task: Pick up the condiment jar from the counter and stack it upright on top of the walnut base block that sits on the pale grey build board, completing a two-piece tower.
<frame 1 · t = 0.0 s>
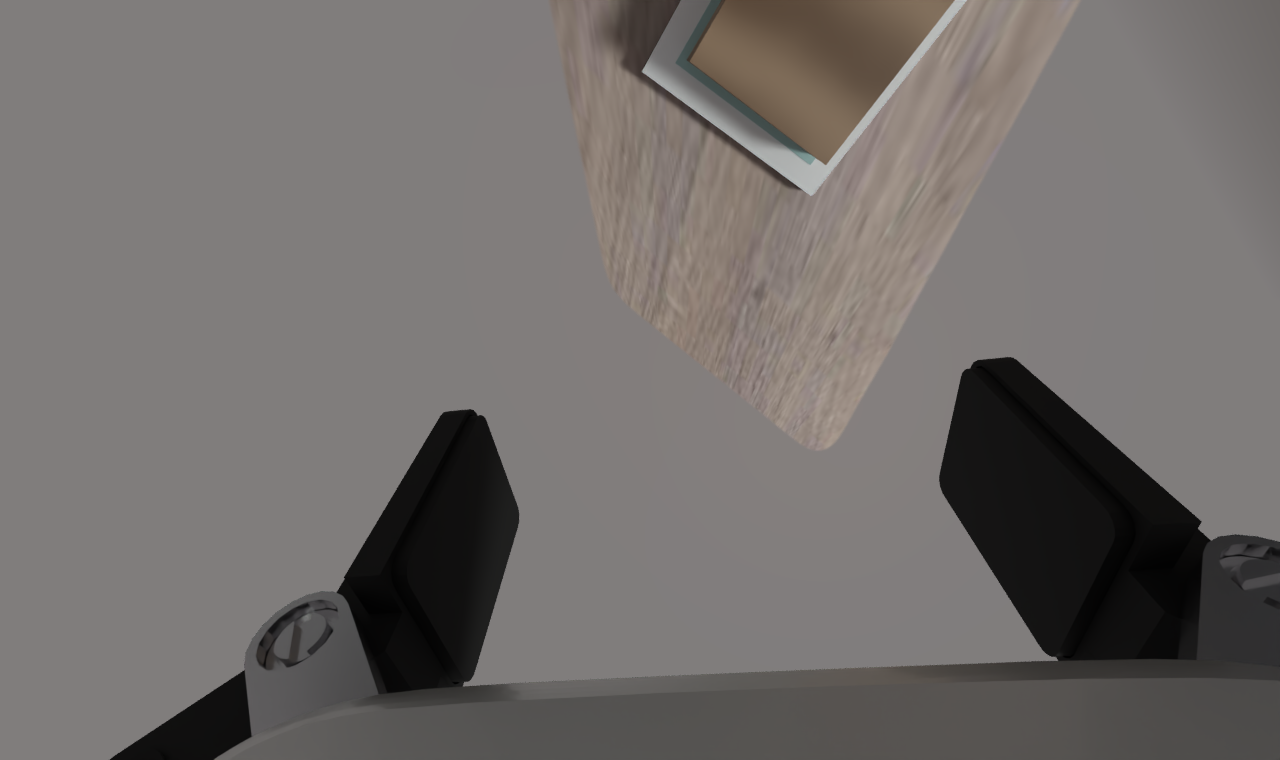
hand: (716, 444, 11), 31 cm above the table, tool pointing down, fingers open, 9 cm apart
build board: (797, 30, 33), on the table
base block: (803, 29, 31), point 2 cm above the table, touching build board
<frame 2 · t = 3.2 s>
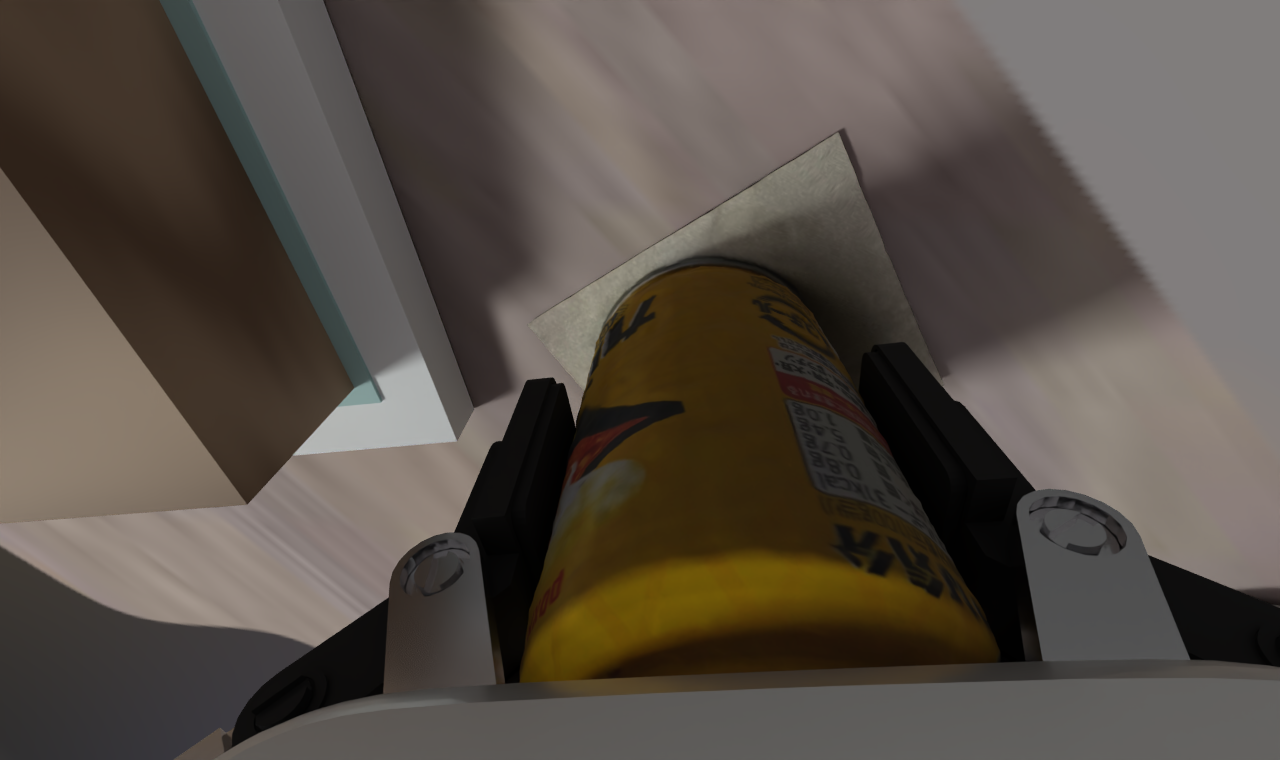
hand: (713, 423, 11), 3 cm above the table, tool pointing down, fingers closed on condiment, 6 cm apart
condiment: (735, 346, 14), on the table, touching gripper
build board: (102, 195, 12), on the table
base block: (34, 212, 11), point 2 cm above the table, touching build board
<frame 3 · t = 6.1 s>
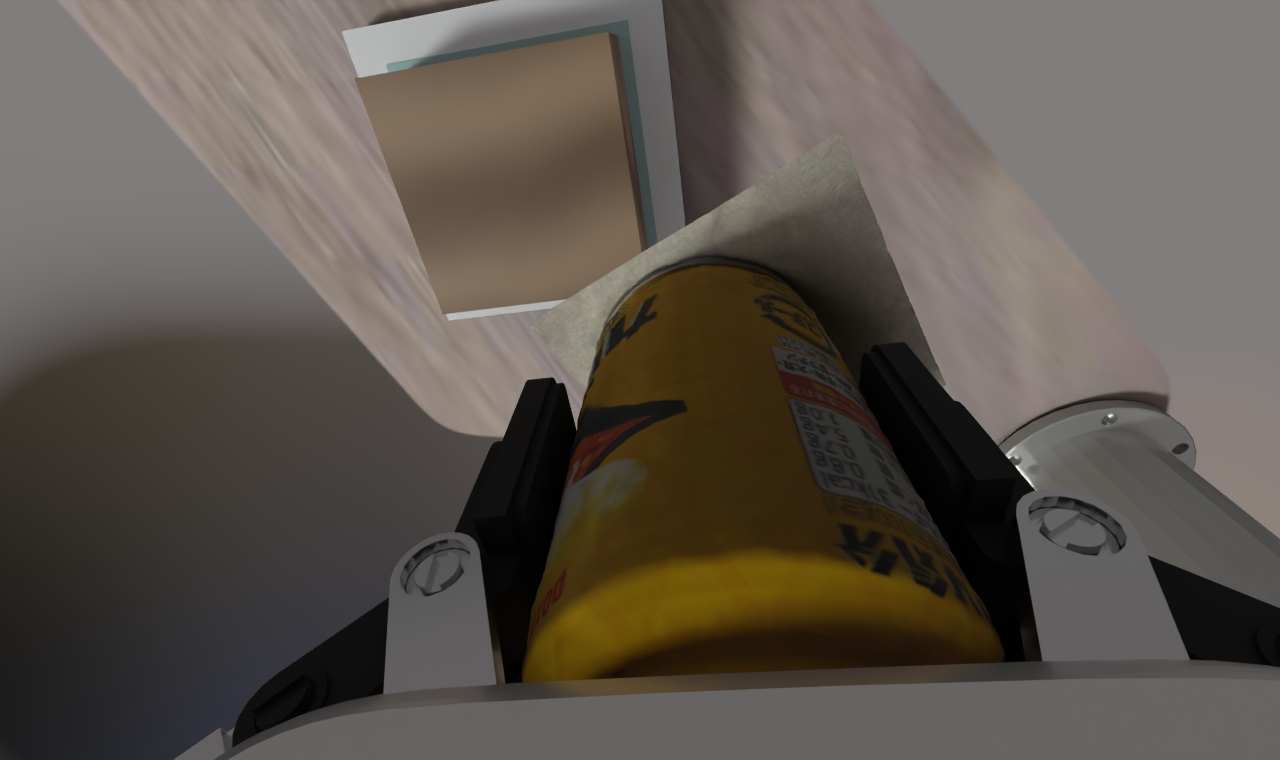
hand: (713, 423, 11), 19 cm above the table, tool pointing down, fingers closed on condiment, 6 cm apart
condiment: (737, 346, 14), point 16 cm above the table, touching gripper
build board: (541, 169, 27), on the table
base block: (534, 175, 26), point 2 cm above the table, touching build board
when the fingers open (10 cm above the table, at t = 8.7 s): condiment drops 1 cm, resting on base block.
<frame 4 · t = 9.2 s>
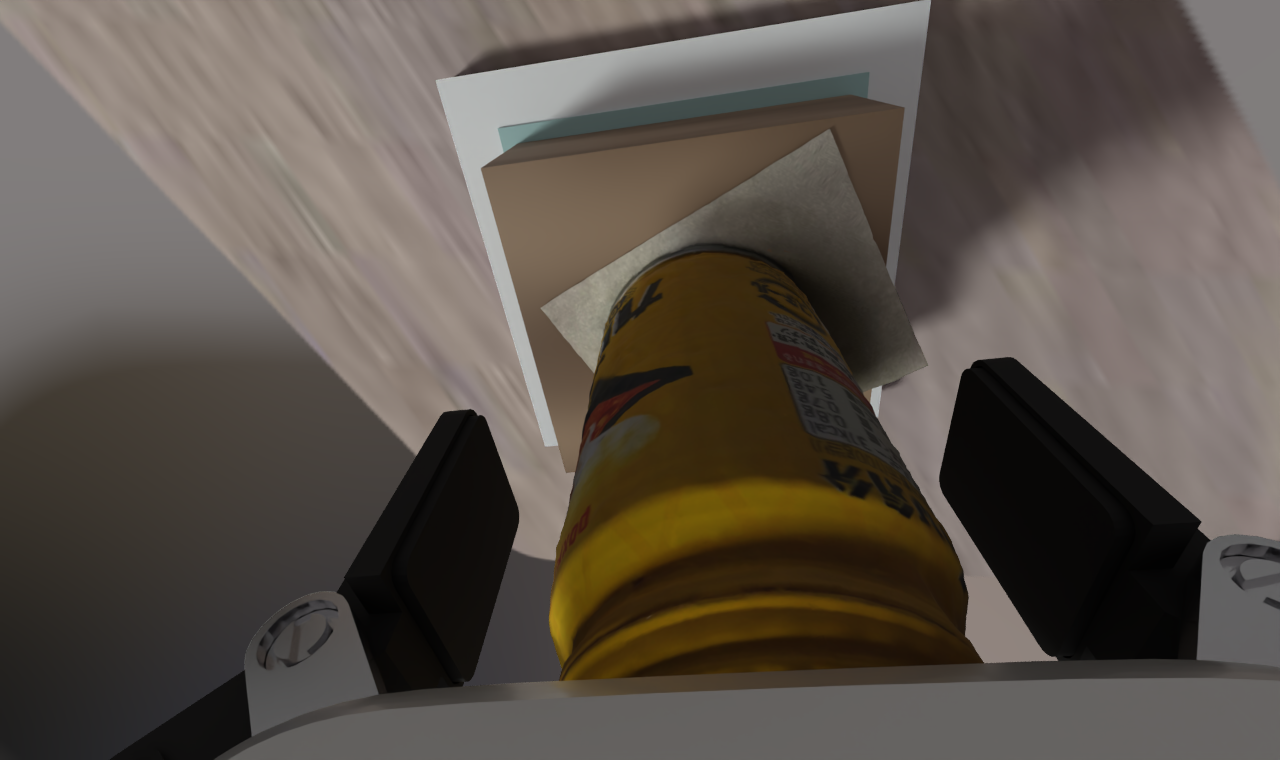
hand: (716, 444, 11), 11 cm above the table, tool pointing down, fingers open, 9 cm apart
condiment: (735, 329, 15), point 5 cm above the table, touching base block
build board: (690, 261, 20), on the table
base block: (692, 276, 18), point 2 cm above the table, touching build board, condiment
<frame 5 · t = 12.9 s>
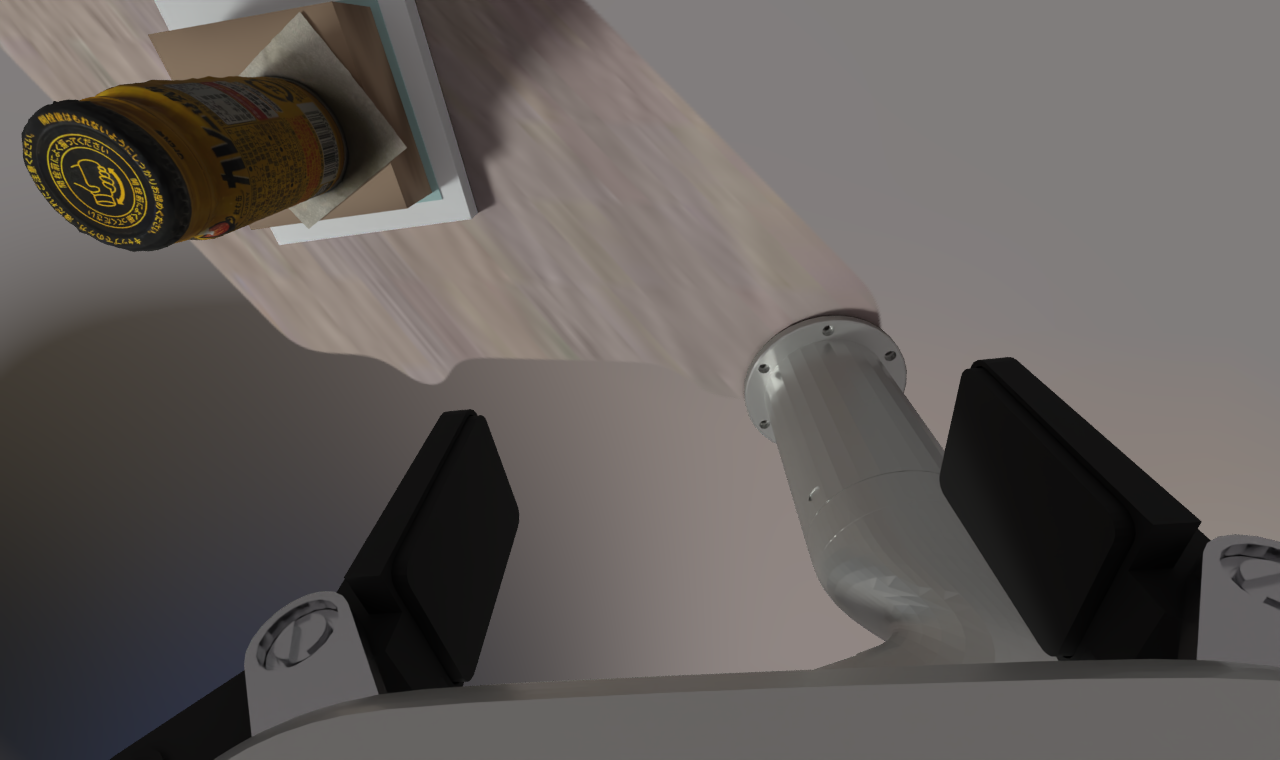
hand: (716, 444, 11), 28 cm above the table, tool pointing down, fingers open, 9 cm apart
condiment: (308, 130, 29), point 5 cm above the table, touching base block
build board: (339, 116, 33), on the table
base block: (326, 119, 32), point 2 cm above the table, touching build board, condiment
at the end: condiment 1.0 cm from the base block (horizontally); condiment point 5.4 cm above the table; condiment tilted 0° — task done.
